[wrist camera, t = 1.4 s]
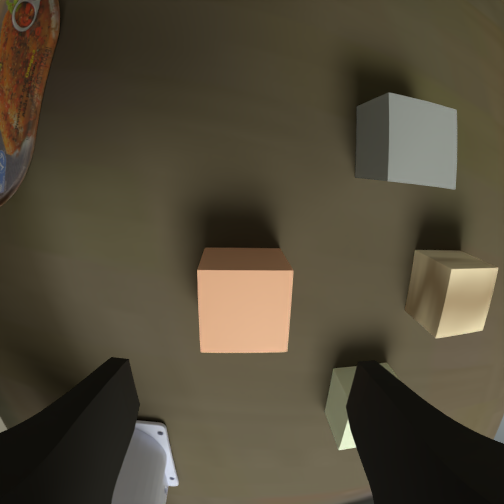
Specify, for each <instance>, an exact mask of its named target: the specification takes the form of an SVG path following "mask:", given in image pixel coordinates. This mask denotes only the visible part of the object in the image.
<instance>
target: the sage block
mask: <svg viewBox="0 0 504 504" xmlns="http://www.w3.org/2000/svg"><path fill="white" fill-rule="evenodd" d="M379 364H381V365H382V366H383V367H384V368H385V369H387V370H388V371H389V372H390V373H391V374H393V375H394V376H395V377H396V378H397V379H399V378H398V377H397V376H396V374H395V373H394V371H393V370H392V369H391V367H390V366H389V365H388V363H379ZM356 367H357V366H353V367H343V368H333V373H332V378H331V383H330V388H329V393H328V398H327V403H326V408H325V414H326V417H327V420H328V423H329V425H330V428H331V431H332V433H333V436H334V439H335V442H336V444H337V447H338V450H343V449H349V448H355V447H356V445H355V442H354V439H353V436H352V433H351V430H350V425H349V421H348V416H347V410H346V404H347V400H348V397H349V393H350V390H351V386H352V382H353V379H354V375H355V371H356Z"/></svg>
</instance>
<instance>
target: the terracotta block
mask: <svg viewBox="0 0 504 504" xmlns="http://www.w3.org/2000/svg"><path fill="white" fill-rule="evenodd" d="M197 278H198V307H199V329H200V348H201V352H205V353H266V352H287V348H288V336H289V324H290V311H291V298H292V284H293V269H292V267H291V266H290V264H289V262H288V261H287V259H286V257H285V256H284V254H283V252H282V251H281V249H280V248H205V249H204V252H203V255H202V257H201V260H200V263H199V266H198V269H197Z"/></svg>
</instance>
